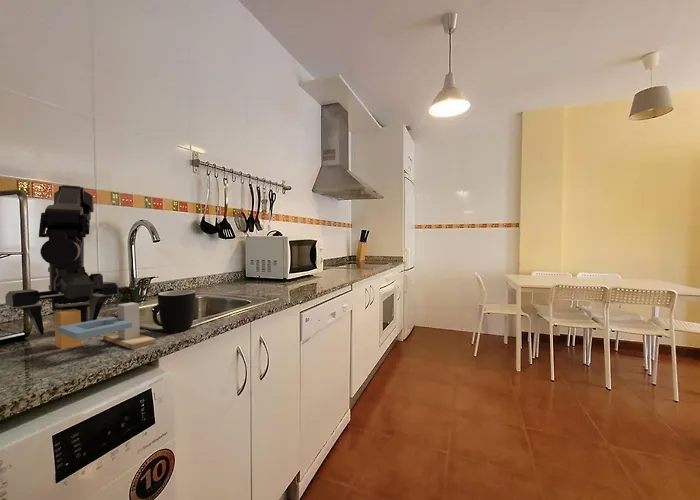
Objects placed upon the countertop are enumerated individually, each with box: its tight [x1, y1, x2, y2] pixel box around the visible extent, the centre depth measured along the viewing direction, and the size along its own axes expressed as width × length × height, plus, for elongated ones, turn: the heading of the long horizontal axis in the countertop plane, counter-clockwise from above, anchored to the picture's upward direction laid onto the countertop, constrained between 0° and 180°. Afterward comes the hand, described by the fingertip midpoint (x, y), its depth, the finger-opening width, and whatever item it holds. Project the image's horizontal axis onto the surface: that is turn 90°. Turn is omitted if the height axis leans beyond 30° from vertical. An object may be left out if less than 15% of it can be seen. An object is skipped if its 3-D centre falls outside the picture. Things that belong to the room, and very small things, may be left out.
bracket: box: [58, 302, 141, 340], centre depth 71 cm, size 10×13×8 cm
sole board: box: [103, 331, 157, 350], centre depth 76 cm, size 14×5×1 cm, turn 59°
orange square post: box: [54, 309, 83, 350], centre depth 73 cm, size 4×4×8 cm
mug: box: [152, 289, 196, 333], centre depth 84 cm, size 12×9×10 cm
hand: (68, 329), depth 73 cm, fingers open, 9 cm apart
